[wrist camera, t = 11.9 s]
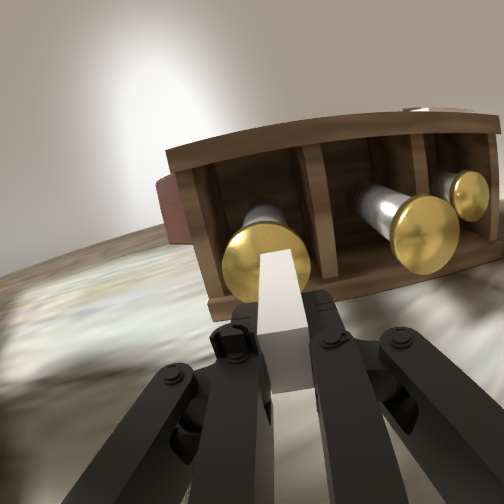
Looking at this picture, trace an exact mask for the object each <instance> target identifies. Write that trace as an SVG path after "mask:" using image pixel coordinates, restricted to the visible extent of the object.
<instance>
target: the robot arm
mask: <svg viewBox="0 0 504 504" xmlns="http://www.w3.org/2000/svg"><path fill="white" fill-rule="evenodd" d="M209 338H210V341H211V344H212V347H213V349H214V352H215V355H216V358H217V360H216V363H214V364H212V365H210V366H208V367H205V368H202V369H198V370H195V371H193V369H192V368H191V367H190V366H189V365H188V364H184V363H173V364H170V365H167V366H165V367H163V368H162V369H160V370H159V371H158V372H157V373H156V375H155V376H154V377H153V379H152V380H151V381H150V383H149V384H148V385H147V387H146V388H145V389H144V391H143V392H142V393H141V395H140V396H139V398H138V399H137V400H136V402H135V403H134V404H133V406H132V407H131V408H130V410H129V411H128V412H127V414H126V415H125V417H124V418H123V419H122V421H121V422H120V423H119V425H118V426H117V427H116V429H115V430H114V432H113V433H112V434H111V436H110V437H109V438H108V440H107V441H106V442H105V444H104V445H103V447H102V448H101V449H100V451H99V452H98V453H97V455H96V456H95V458H94V459H93V460H92V462H91V463H90V464H89V466H88V467H87V468H86V470H85V471H84V473H83V474H82V475H81V477H80V478H79V479H78V481H77V482H76V484H75V485H74V486H73V488H72V489H71V490H70V492H69V493H68V495H67V496H66V497H65V499H64V500H63V502H62V503H61V504H180V502H181V500H182V498H183V496H184V494H185V493H186V491H187V489H188V487H189V485H190V483H191V481H192V484H191V489H190V495H189V500H188V504H274V439H273V404H272V400H271V391H272V394H276V393H283V392H290V391H297V390H303V389H309V388H315V396H316V406H317V412H318V416H319V423H320V430H321V437H322V444H323V451H324V458H325V466H326V474H327V482H328V490H329V499H330V504H409V502H408V498H407V494H406V490H405V487H404V483H403V480H402V476H401V473H400V469H399V466H398V462H397V459H396V456H395V453H394V449H393V446H392V443H391V440H390V437H389V434H388V431H387V428H386V425H385V422H384V419H383V416H382V414H383V415H384V417H385V418H386V419H387V421H388V422H389V424H390V425H391V426H392V428H393V429H394V430H395V432H396V433H397V435H398V436H399V437H400V439H401V440H402V442H403V443H404V444H405V446H406V447H407V449H408V450H409V451H410V453H411V454H412V456H413V457H414V458H415V460H416V461H417V463H418V464H419V465H420V467H421V468H422V470H423V471H424V472H425V474H426V475H427V477H428V478H429V479H430V481H431V482H432V484H433V485H434V486H435V488H436V489H437V491H438V492H439V494H440V495H441V496H442V498H443V499H444V501H445V502H446V504H504V409H503V408H502V407H501V406H500V405H499V404H498V403H497V402H496V401H494V400H493V399H492V398H491V397H490V396H489V395H488V394H487V393H486V392H485V391H484V390H483V389H482V388H481V387H479V386H478V385H477V384H476V383H475V382H474V381H473V380H472V379H471V378H470V377H469V376H467V375H466V374H465V373H464V372H463V371H462V370H461V369H460V368H459V367H457V366H456V365H455V364H454V363H453V362H452V361H451V360H450V359H448V358H447V357H446V356H445V355H444V354H443V353H442V352H440V351H439V350H438V349H437V348H436V347H435V346H434V345H432V344H431V343H430V342H429V341H428V340H427V339H425V338H424V337H423V336H422V335H421V334H419V333H418V332H417V331H415V330H413V329H412V328H407V327H395V328H391V329H388V330H387V331H385V332H384V333H383V334H382V335H381V337H380V341H364V340H359V339H355V338H353V336H352V335H351V334H350V332H348V331H346V330H345V328H344V325H343V323H342V320H341V318H340V315H339V313H338V310H337V309H336V305H335V303H334V300H333V298H332V295H331V294H330V293H329V292H327V291H326V290H324V289H321V290H315V291H310V292H304V293H300V288H299V284H298V280H297V275H296V271H295V267H294V263H293V259H292V254H291V250H290V249H287V250H281V251H276V252H270V253H265V254H260V276H259V301H257V302H250V303H244V304H239V305H238V306H237V307H236V308H235V309H234V311H233V312H232V317H231V323H229V324H225V325H223V326H221V327H219V328H217V329H216V330H215V331H213V332H212V334H211V336H210V337H209ZM270 387H271V388H270Z"/></svg>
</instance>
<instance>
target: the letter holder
mask: <svg viewBox="0 0 504 504" xmlns="http://www.w3.org/2000/svg"><path fill="white" fill-rule="evenodd" d="M156 190H157V194H158V199H159V204H160V209H161V213H162V217H163V220H164V225H165V229H166V233H167V237H168V241H169V243H170V244H193V243H192V239H191V235H190V232H189V228H188V224H187V221H186V217H185V213H184V209H183V205H182V202H181V198H180V194H179V190H178V186H177V182H176V178H175V173H173V174H170V175H168V176H166V177H164V178H162V179H160V180H158V181H157V182H156Z"/></svg>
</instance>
